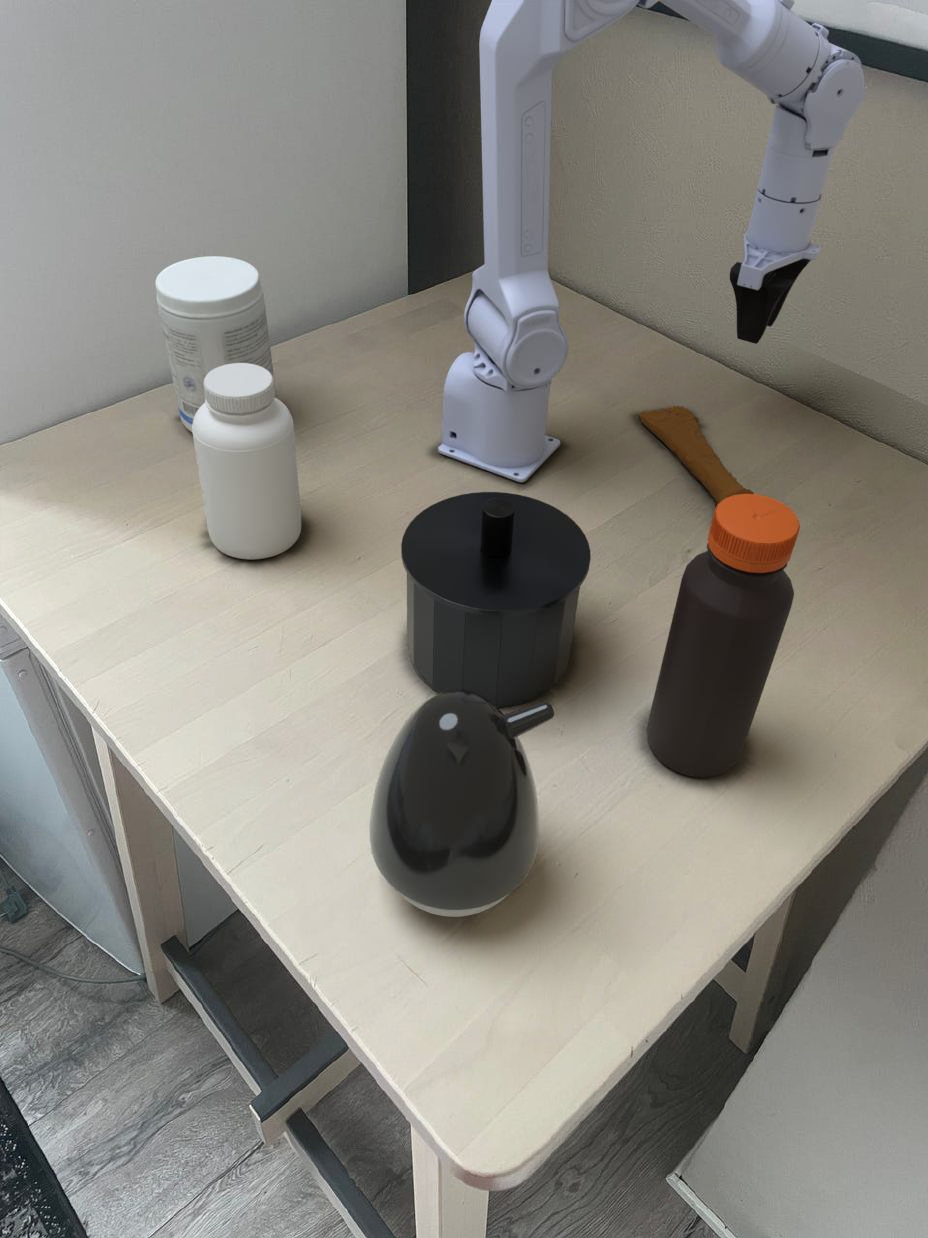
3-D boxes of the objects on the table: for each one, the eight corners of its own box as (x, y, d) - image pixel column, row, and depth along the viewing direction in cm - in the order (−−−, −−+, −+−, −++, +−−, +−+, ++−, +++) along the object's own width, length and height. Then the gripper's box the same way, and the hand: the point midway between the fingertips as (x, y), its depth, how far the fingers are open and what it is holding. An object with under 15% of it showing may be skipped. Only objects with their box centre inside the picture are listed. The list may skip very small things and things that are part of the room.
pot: (377, 665, 78) (373, 569, 71) (461, 576, 86) (464, 482, 79) (521, 732, 73) (532, 636, 67) (595, 631, 81) (611, 536, 75)
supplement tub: (274, 389, 106) (259, 251, 96) (282, 439, 100) (267, 296, 90) (178, 397, 105) (153, 257, 95) (180, 449, 98) (153, 303, 88)
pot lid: (364, 577, 71) (361, 524, 68) (462, 483, 80) (464, 432, 77) (534, 650, 67) (540, 597, 64) (619, 542, 75) (628, 490, 72)
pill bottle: (322, 533, 89) (310, 379, 79) (248, 575, 85) (226, 417, 75) (263, 494, 93) (245, 343, 83) (190, 533, 89) (161, 377, 78)
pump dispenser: (555, 927, 62) (584, 766, 52) (385, 957, 60) (378, 797, 50) (514, 793, 69) (531, 629, 59) (360, 816, 67) (351, 651, 57)
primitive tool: (635, 416, 105) (641, 385, 103) (684, 410, 106) (691, 380, 104) (718, 529, 91) (726, 497, 89) (773, 521, 93) (783, 489, 90)
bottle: (666, 694, 76) (721, 470, 63) (754, 731, 74) (831, 507, 60) (630, 754, 72) (680, 528, 58) (722, 795, 70) (797, 569, 56)
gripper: (809, 228, 86) (771, 373, 95) (854, 177, 96) (816, 313, 105) (729, 209, 89) (699, 352, 98) (781, 161, 98) (749, 296, 107)
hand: (755, 331), depth 102 cm, fingers open, 4 cm apart
